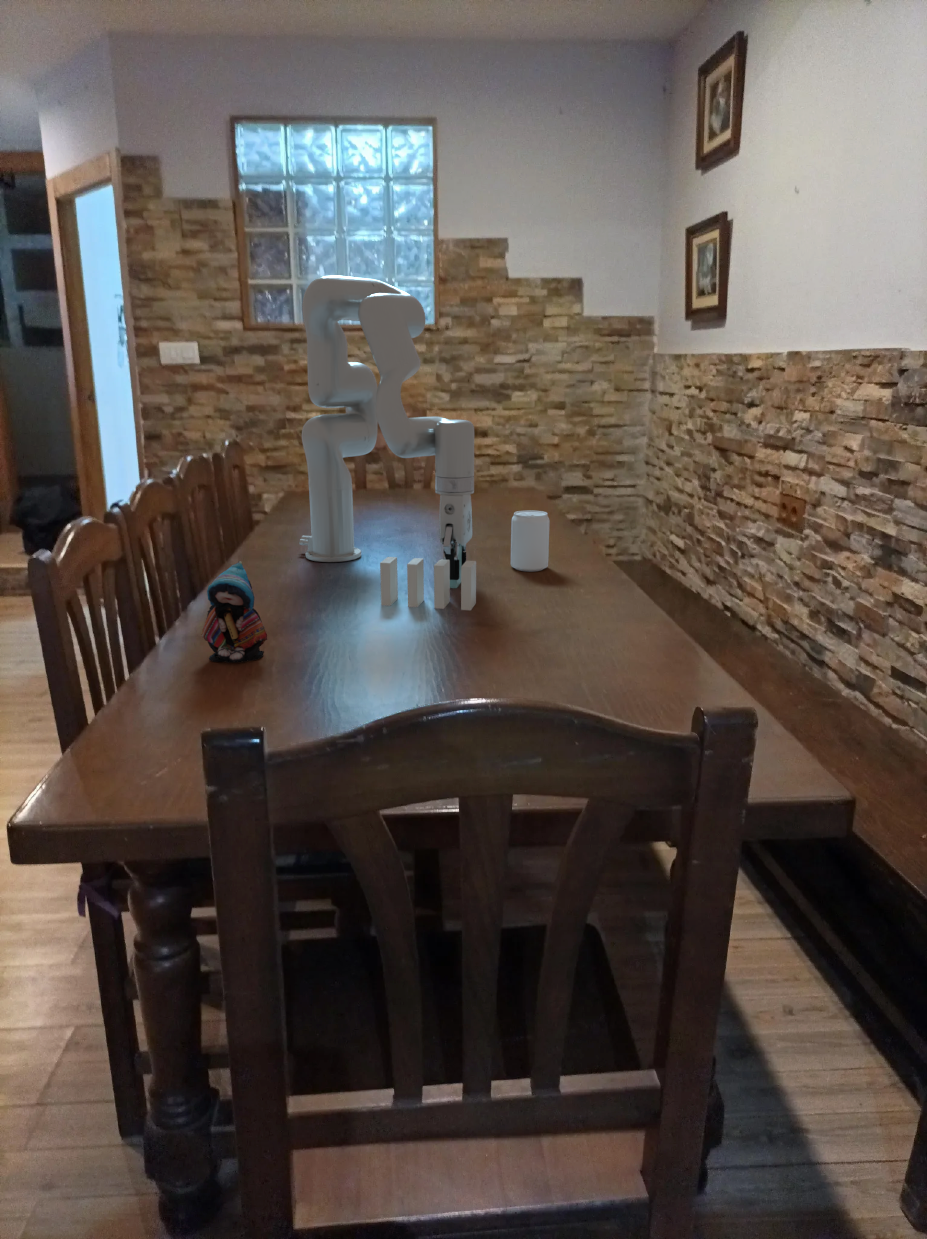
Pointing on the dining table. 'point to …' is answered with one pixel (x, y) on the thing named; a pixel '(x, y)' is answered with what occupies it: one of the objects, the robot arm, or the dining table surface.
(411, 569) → the domino
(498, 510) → the dining table surface
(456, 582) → the domino
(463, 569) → the domino
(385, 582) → the domino
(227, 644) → the figurine
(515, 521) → the beverage can
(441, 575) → the domino
